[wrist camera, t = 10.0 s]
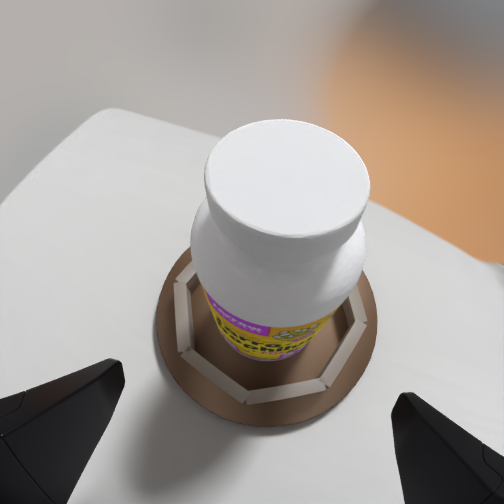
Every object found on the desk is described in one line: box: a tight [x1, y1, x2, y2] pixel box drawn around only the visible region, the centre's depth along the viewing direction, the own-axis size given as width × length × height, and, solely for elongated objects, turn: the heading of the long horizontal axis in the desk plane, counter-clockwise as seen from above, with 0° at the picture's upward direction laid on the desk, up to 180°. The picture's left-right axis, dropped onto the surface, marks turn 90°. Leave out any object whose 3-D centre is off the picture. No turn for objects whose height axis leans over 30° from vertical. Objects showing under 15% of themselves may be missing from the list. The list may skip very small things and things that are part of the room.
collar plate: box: [157, 247, 377, 427], centre depth 18 cm, size 15×15×4 cm
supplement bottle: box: [190, 119, 370, 361], centre depth 13 cm, size 7×7×13 cm
